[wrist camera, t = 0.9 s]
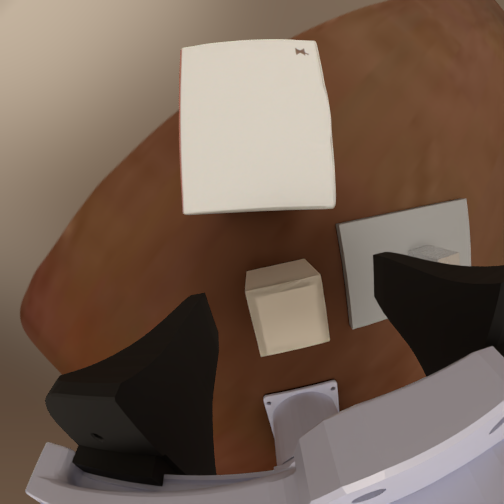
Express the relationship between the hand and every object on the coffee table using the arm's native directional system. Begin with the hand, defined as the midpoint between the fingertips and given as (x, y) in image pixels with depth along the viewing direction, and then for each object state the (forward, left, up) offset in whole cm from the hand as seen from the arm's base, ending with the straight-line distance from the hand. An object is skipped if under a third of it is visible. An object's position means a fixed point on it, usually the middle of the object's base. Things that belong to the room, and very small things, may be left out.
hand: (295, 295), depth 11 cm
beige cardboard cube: (-4, 0, -13) cm, 14 cm away
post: (-4, -14, -13) cm, 19 cm away
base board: (-4, -14, -13) cm, 19 cm away
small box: (+8, 0, -13) cm, 15 cm away
